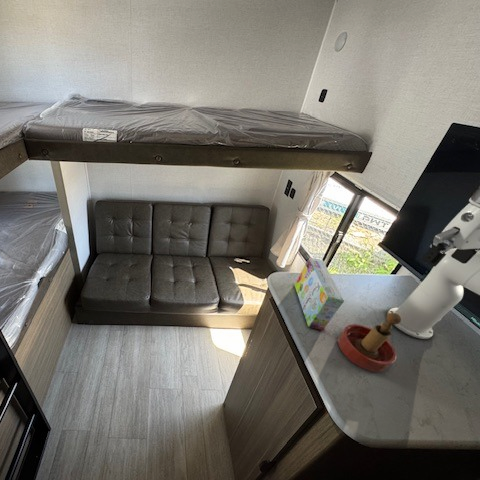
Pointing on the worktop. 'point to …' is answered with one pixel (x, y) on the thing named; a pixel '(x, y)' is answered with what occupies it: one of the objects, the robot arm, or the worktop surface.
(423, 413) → the worktop surface
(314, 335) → the worktop surface
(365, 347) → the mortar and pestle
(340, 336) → the bowl
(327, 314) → the snack box
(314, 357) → the worktop surface
